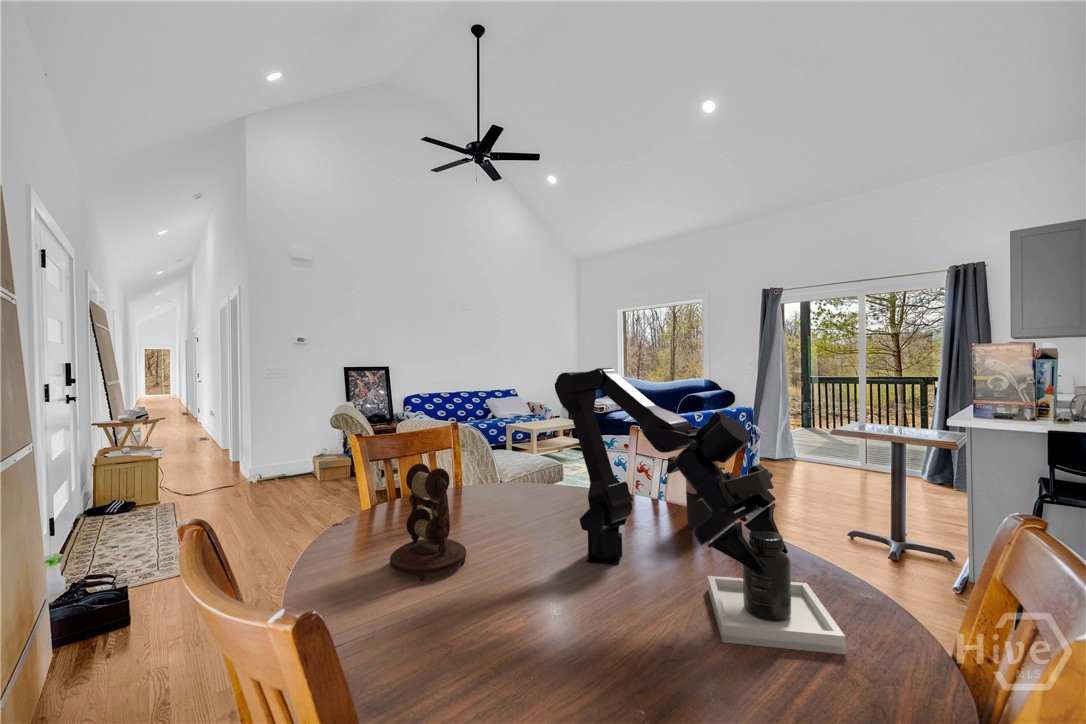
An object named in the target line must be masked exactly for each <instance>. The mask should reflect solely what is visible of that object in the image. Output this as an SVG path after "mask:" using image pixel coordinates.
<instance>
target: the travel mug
mask: <svg viewBox="0 0 1086 724" xmlns="http://www.w3.org/2000/svg"><path fill="white" fill-rule="evenodd" d="M696 444H697V442H695V443H691V444H690V445H689V446H688V447H686V448H690V449H691V448H693V447H694V446H695V445H696ZM686 448H685V449H686ZM715 463H716V464H717V465H718V467H719V468H720V462H718V461H717V462H715ZM685 490H686V491H685V493H686V517H687V519H686V520H687V526H688V528H689V529H691V530H692V531H694V526H695V525H697V524H698V523H699V522H700V521H701V520H703V519H704V518H705V517H706V516H707V515H709V514H710V513H711V511H710V510H709V508H708V507H707V506H706V504H705V503H704V502H703V500H699V501H696V500H695V498H694V497H693V496H694V495H695V494H696V491H695V490H694V489H693V488H692V486H691V485H690V484H689V482H688V481H687V480H686V479H685Z"/></svg>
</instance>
